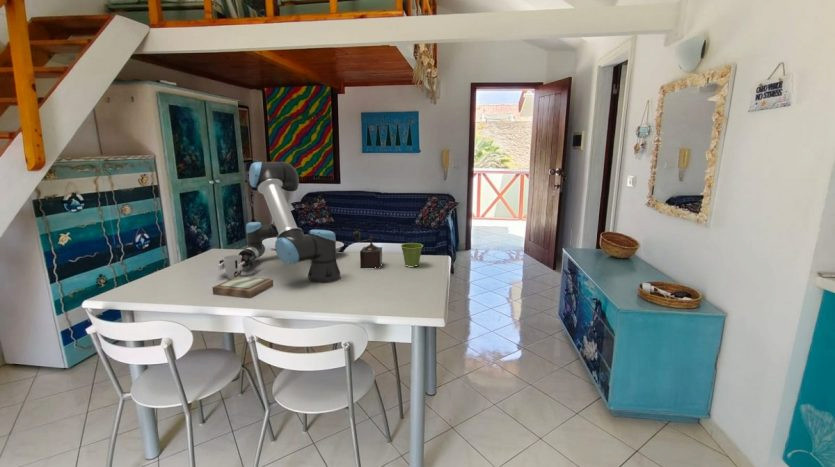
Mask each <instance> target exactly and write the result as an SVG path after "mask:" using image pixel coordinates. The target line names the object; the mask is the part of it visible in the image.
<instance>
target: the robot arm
mask: <svg viewBox="0 0 835 467" xmlns="http://www.w3.org/2000/svg"><path fill="white" fill-rule="evenodd" d="M248 173H249V174H248V180H249V181H248V182H249V185H250V186H251V187H252V188H256V189H257V191H258V193H259V194H261V195H263V197H264V199H265V203H266V204H267V207H268V210H269V212H270V215H271V218H272V220H271V223H270V224H262V223H261V222H259V221H252V222H251V221H250V222H247V223H246V226H245V232H246V242H247V248H245V249H242V250H241V251H240V252H239V253H238V255H241V256H242V263H240V264H239V265H238V271H240V270H243V269H245V268H246V267H249V266H250V267H253V266H254V264H255V263H257V262H258V259H259V258H260V257H262V256H263V255H264V254H265V252H266V246H265V245H264V244H263V240H266V239H272V238H276V241H275V243H274V248H275V252H276V255H277V257H278V259H279V260H280V261H281V262H282V263H284V264H295V263H301V262H306V261H309V260H310V266H309V270H308V273H307V280H308V281H309V282H312V283H316V284H318V283H319V284H321V283H324V284H325V283H331V282H332V283H333V282H336V281H338V280H340V279H341V271H340V268H339V265H338V263H337V253H336V241H337V240H336V233H335V232H334V231H331V230H327V229H311V230H309V232H308V234H304V231H303V229H302V228H301V227H298V226H297V223H296V221H295V219H294V216H293V214H292V211H291V206H292V203H293V198H294V195H295V192H296V191H297V190H298V188H299V185H300V180H299V179H300V177H299V174H298V171H297V170H296V169H295V167H294V166H292V164H290V163H288V162H285V161H259V162H258V161H257V162H256V161H255V162H253V163H251V164H250V167H249V170H248ZM217 270H218V271H219V272H220V271H222V270H225V267H224V261H223V259H221V260H219V263H218V264H217Z"/></svg>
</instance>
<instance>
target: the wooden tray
mask: <svg viewBox="0 0 835 467" xmlns="http://www.w3.org/2000/svg"><path fill="white" fill-rule="evenodd" d="M273 286H274V279H272V278H263V277H261V278H260V277H251V276H241V275H240V276H237V277H235V278H233V279H229V280H226V281H224V282H222V283H219V284H217V285H215V286H212V287H211V288H212V294H213V295H217V296H227V297H236V298H237V297H238V298H245V299H246V298H248V299H252V298H254V297H255V296H257V295H260V294H261V293H262V292H264V291H266V290H268V289H270V288H271V287H273Z"/></svg>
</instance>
